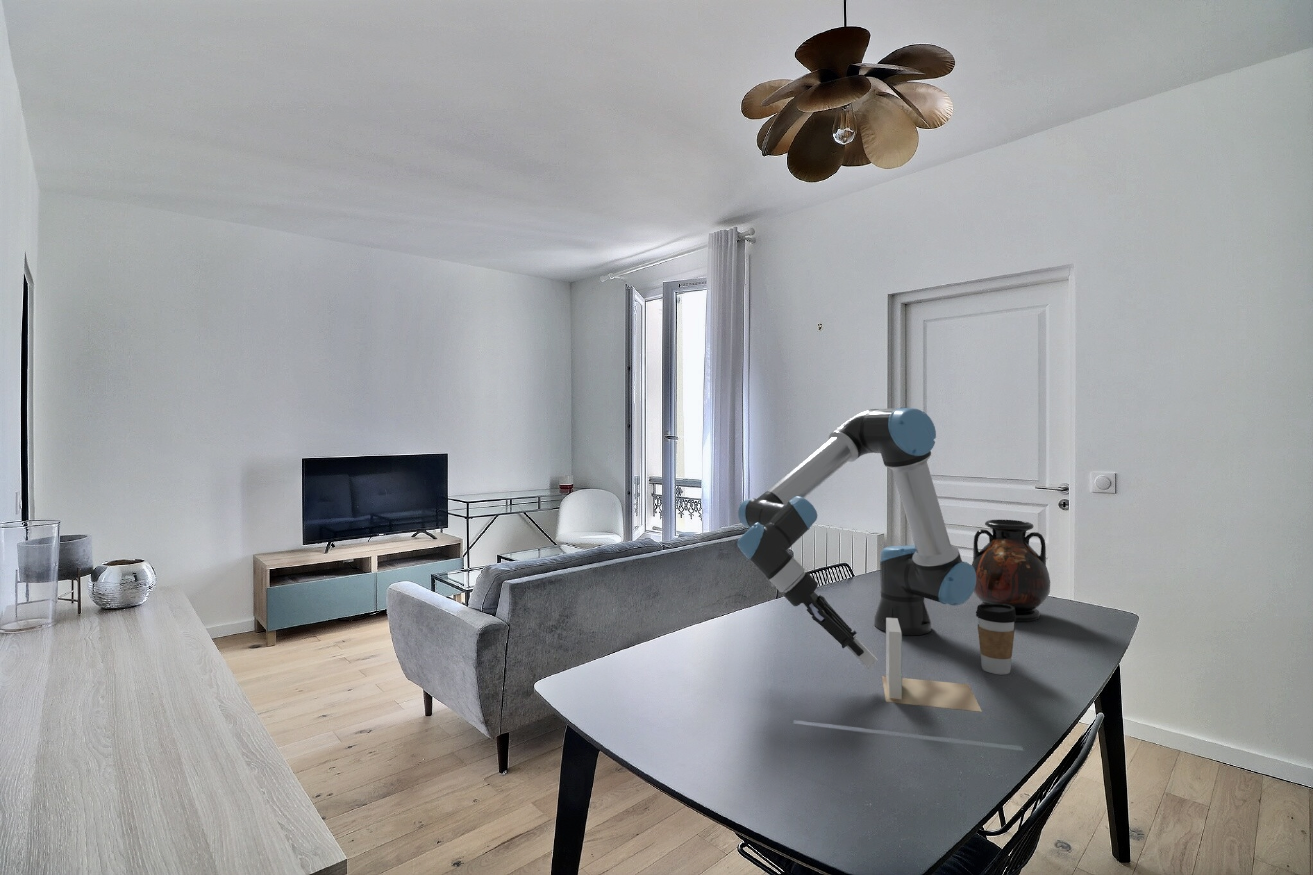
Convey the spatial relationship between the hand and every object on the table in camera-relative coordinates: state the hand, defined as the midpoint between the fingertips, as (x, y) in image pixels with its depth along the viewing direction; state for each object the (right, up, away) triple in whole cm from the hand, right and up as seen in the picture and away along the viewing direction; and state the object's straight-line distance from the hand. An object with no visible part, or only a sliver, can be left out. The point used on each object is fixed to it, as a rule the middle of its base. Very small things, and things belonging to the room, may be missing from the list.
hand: (872, 663), depth 140 cm
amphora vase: (+59, -5, +54) cm, 81 cm away
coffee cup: (+33, -5, +11) cm, 35 cm away
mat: (+11, -6, -3) cm, 13 cm away
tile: (+4, -5, -1) cm, 7 cm away
